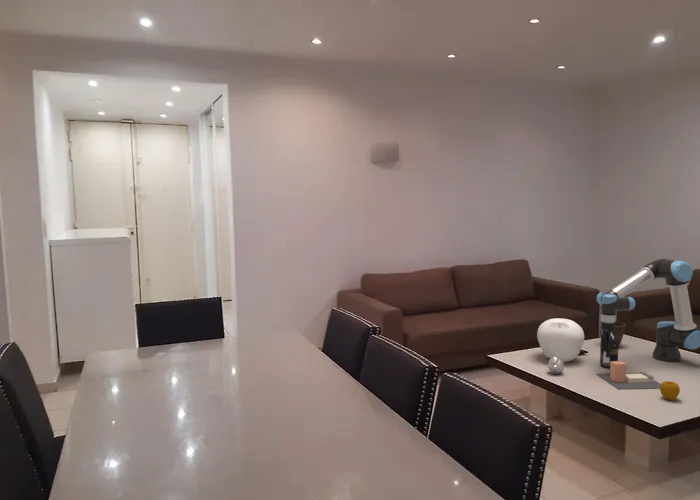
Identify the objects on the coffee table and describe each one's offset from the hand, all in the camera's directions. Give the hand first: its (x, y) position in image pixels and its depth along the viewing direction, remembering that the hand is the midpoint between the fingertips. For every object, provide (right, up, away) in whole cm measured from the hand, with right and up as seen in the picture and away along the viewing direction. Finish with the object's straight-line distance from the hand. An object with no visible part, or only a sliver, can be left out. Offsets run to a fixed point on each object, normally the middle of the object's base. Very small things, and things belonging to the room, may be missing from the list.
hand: (606, 362), depth 296 cm
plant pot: (+31, -2, +54) cm, 62 cm away
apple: (+13, -11, -37) cm, 40 cm away
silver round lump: (-28, -7, +3) cm, 29 cm away
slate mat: (+8, -8, -11) cm, 16 cm away
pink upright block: (+1, -8, -11) cm, 14 cm away
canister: (+8, -6, +14) cm, 17 cm away
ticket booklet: (+12, -8, -11) cm, 18 cm away
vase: (-15, -5, +28) cm, 32 cm away
